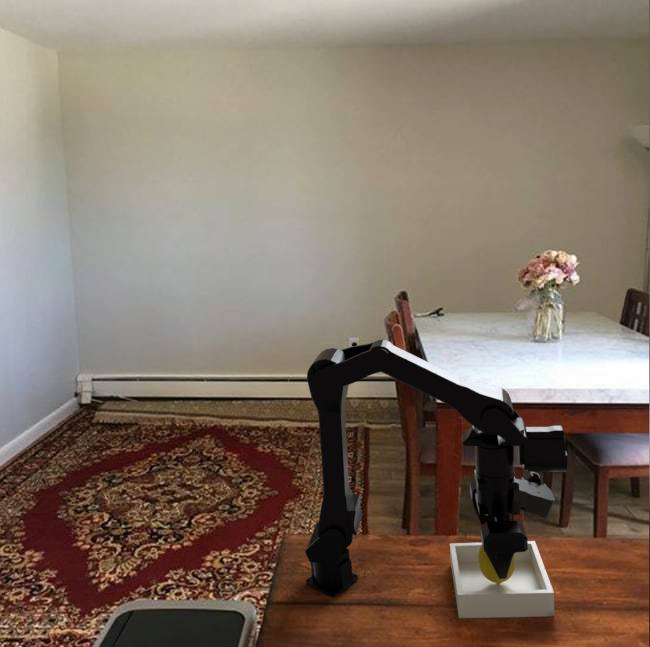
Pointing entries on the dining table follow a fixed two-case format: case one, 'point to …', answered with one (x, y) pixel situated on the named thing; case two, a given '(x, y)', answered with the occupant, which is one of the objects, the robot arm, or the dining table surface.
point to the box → (501, 585)
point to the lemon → (489, 570)
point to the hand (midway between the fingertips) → (497, 560)
